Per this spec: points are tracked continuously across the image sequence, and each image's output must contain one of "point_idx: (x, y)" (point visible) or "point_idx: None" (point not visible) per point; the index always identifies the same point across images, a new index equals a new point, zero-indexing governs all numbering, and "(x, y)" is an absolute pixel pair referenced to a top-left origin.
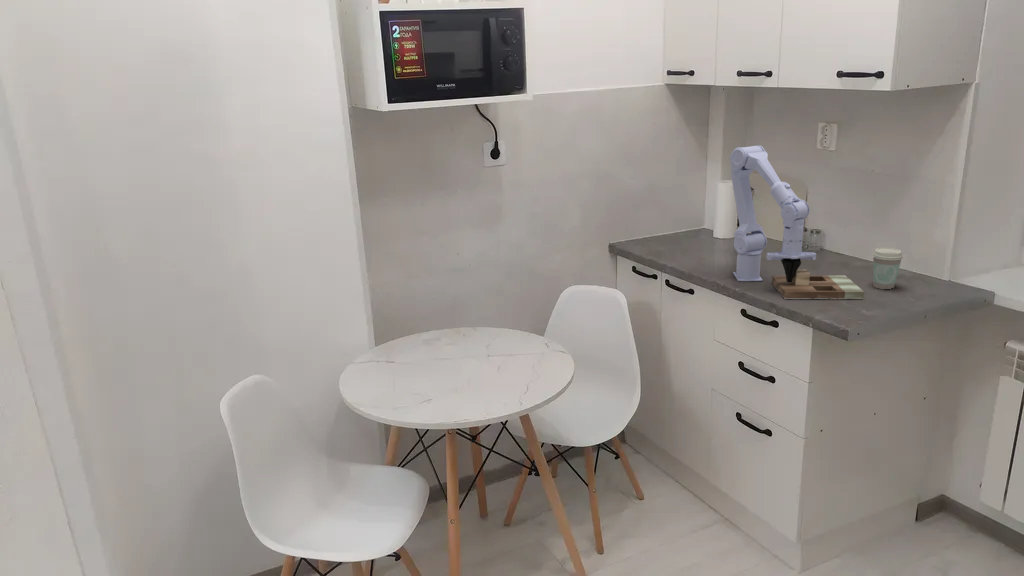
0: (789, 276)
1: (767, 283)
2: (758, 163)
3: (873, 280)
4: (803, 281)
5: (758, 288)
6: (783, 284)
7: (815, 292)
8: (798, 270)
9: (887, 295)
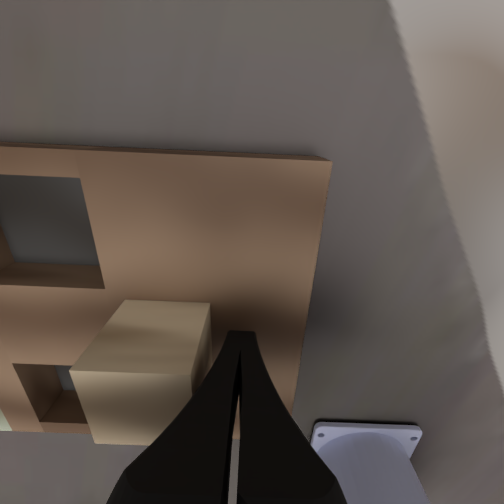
0: (250, 360)
1: (303, 401)
2: None
3: None
4: (151, 319)
5: (375, 348)
6: (281, 323)
7: (94, 151)
8: (160, 430)
9: None
